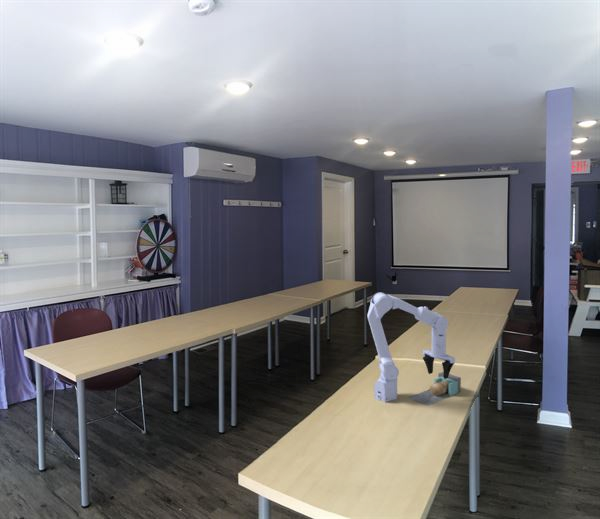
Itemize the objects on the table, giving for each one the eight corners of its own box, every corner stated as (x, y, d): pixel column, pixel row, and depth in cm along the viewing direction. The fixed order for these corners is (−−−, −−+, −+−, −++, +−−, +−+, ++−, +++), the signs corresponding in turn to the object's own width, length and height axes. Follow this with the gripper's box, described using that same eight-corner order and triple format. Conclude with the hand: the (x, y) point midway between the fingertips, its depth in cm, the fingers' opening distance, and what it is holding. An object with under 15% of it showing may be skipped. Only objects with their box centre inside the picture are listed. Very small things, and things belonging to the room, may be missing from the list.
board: (427, 407, 178) (427, 405, 178) (407, 399, 186) (407, 397, 186) (457, 394, 190) (457, 393, 190) (437, 387, 198) (437, 386, 198)
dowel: (440, 397, 186) (439, 385, 185) (430, 394, 189) (429, 383, 189) (451, 392, 190) (450, 381, 190) (441, 390, 194) (441, 379, 194)
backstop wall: (456, 394, 191) (456, 379, 190) (438, 387, 198) (438, 373, 197) (460, 392, 192) (460, 377, 192) (442, 386, 200) (442, 372, 199)
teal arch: (450, 395, 187) (450, 384, 187) (434, 390, 193) (434, 378, 193) (457, 392, 190) (457, 381, 190) (441, 387, 196) (441, 376, 196)
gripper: (459, 345, 183) (459, 378, 184) (429, 338, 195) (429, 369, 196) (449, 349, 179) (448, 382, 180) (419, 341, 190) (419, 372, 192)
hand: (438, 375), depth 188 cm, fingers open, 7 cm apart
